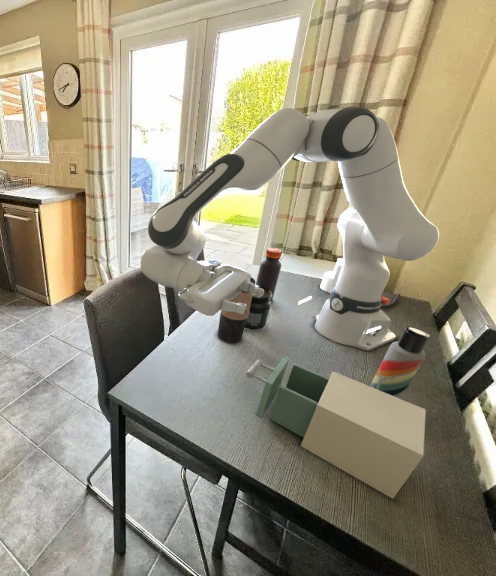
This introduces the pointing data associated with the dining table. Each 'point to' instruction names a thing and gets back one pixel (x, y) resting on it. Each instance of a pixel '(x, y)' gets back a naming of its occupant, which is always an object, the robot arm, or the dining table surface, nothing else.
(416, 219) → the robot arm
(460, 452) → the dining table surface
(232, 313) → the travel mug
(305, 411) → the green pull-out drawer
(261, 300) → the supplement container
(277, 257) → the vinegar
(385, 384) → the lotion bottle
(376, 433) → the matchbox drawer box
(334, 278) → the cylinder with rectangular tab
